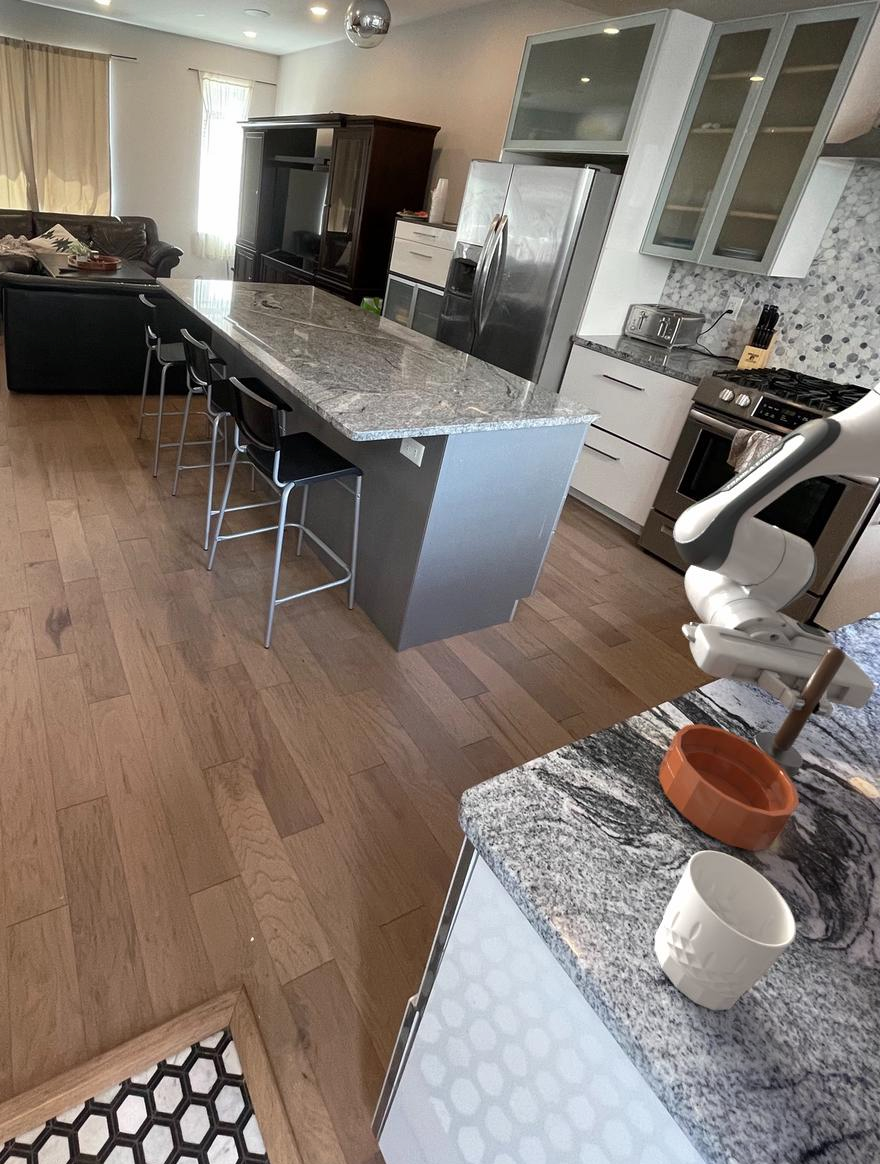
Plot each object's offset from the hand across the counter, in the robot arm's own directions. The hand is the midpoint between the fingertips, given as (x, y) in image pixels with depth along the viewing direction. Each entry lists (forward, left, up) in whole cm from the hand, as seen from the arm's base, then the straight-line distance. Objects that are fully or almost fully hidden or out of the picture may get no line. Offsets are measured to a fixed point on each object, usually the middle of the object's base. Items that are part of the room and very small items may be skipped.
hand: (810, 708), depth 75 cm
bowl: (+10, +7, -11) cm, 16 cm away
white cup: (+20, +27, -11) cm, 35 cm away
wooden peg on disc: (0, -1, -9) cm, 10 cm away
